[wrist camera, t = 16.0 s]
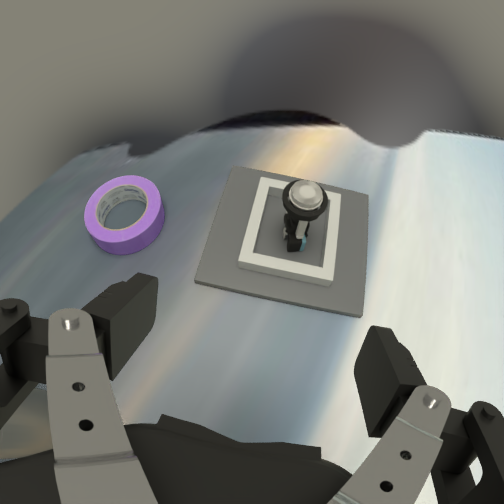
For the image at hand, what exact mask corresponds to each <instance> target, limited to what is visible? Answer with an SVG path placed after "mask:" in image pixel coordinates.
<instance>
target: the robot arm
mask: <svg viewBox="0 0 504 504" xmlns="http://www.w3.org/2000/svg"><path fill="white" fill-rule="evenodd" d="M157 293H158V278H157V277H154V276H150V275H146V274H142V273H137V274H135V275H134V276H133V277H132V278H130V279H129V280H128V281H127V282H124V281H122V282H119V283H116V284H113V285H111V286H109V287H108V288H107V289H106V290H104V292H102V293H101V294H99V295H98V297H96V298H94V299H93V300H92V301H91V302H89V303H88V304H87V305H86V306H84V307H83V308H82V309H81V310H80V309H74V308H67V309H61V310H58V311H56V312H54V313H53V314H52V315H51V316H50V318H49V320H48V319H42V318H36V317H31V316H30V312H29V306H28V304H27V303H26V302H25V301H23V300H20V299H14V298H9V299H3V300H0V354H1V357H2V361H3V363H2V364H1V365H0V459H13V458H18V459H14V460H10V461H6V462H2V463H0V504H414V503H415V501H416V499H417V497H418V495H419V494H420V492H421V490H422V488H423V486H424V484H425V482H426V479H427V477H428V475H429V473H430V472H431V476H432V480H433V484H434V488H435V492H436V496H437V500H438V504H504V417H503V416H502V414H501V412H500V411H499V410H498V409H497V408H496V407H495V406H493V405H492V404H490V403H487V402H484V401H477V402H475V403H473V405H472V406H471V408H470V409H469V411H468V412H465V411H461V410H457V409H454V408H451V401H450V399H449V398H448V396H447V395H446V394H445V393H444V392H442V391H441V390H439V389H437V388H435V387H432V386H428V385H427V384H426V382H425V380H424V378H423V376H422V374H421V372H420V370H419V368H417V365H416V363H415V361H413V360H414V359H413V357H412V355H411V353H410V352H409V350H408V349H407V348H406V347H404V346H403V345H402V344H401V343H399V342H398V340H397V338H396V337H395V335H394V333H393V331H392V329H391V328H385V327H379V326H374V325H373V326H371V327H370V328H369V330H368V332H367V335H366V337H365V340H364V342H363V345H362V347H361V350H360V352H359V354H358V357H357V359H356V362H355V366H354V377H355V381H356V385H357V389H358V393H359V397H360V401H361V405H362V409H363V414H364V418H365V422H366V427H367V431H368V436H369V437H375V438H381V440H380V441H379V442H378V444H377V445H376V446H375V448H374V449H373V450H372V452H371V453H370V454H369V456H368V457H367V458H366V459H365V461H364V462H363V463H362V464H361V466H360V467H359V468H358V469H357V471H356V472H355V473H354V474H353V475H352V474H351V473H349V472H348V471H347V470H345V469H343V468H342V467H340V466H338V465H336V464H334V463H332V462H329V461H327V460H324V459H321V447H315V446H306V445H299V444H291V443H285V442H272V443H242V442H237V441H235V440H232V439H230V438H228V437H225V436H223V435H221V434H219V433H216V432H214V431H212V430H210V429H208V428H206V427H203V426H201V425H198V424H195V423H191V422H187V421H184V420H180V419H177V418H173V417H170V416H167V415H164V414H162V415H161V417H160V419H159V421H158V423H157V424H144V423H141V424H129V425H123V422H122V419H121V416H120V413H119V410H118V407H117V404H116V401H115V397H114V394H113V391H112V387H111V384H110V380H111V381H113V380H114V379H115V377H116V376H117V375H118V373H119V372H120V371H121V369H122V368H123V367H124V365H125V364H126V363H127V361H128V360H129V359H130V357H131V356H132V355H133V353H134V352H135V351H136V349H137V348H138V347H139V345H140V344H141V343H142V341H143V340H144V339H145V337H146V336H147V335H148V333H149V332H150V331H151V329H152V327H153V325H154V321H155V317H156V305H157ZM38 383H42V384H47V391H46V390H42V389H38V388H35V387H36V386H37V385H38ZM477 456H478V459H479V461H480V464H481V466H482V470H483V474H482V478H481V480H480V482H479V483H478V484H477V485H475V482H474V479H473V476H472V473H471V470H470V468H469V466H470V465H471V463H472V462H473V461H474V460H475V459H476V458H477Z"/></svg>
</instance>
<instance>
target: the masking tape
mask: <svg viewBox="0 0 504 504" xmlns="http://www.w3.org/2000/svg"><path fill="white" fill-rule="evenodd" d="M126 200H139V201H142V202H144V203H145V204H146V205H147V206H146V210H145V212H144V214H143V215H142V217H141V218H140V219H139V220H138V221H137V222H135V223H134V224H133V225H131V226H129V227H126V228H123V229H118V230H114V229H109V228H106V227H104V222H105V218H106V216H107V214H108V213H109V211H110V210H111V209H112V208H113V207H114V206H116V205H117V204H119V203H121V202H123V201H126ZM164 217H165V216H164V208H163V204H162V200H161V197H160V193H159V191H158V189H157V187H156V186H155V185H154V184H153V183H152V182H151V181H149V180H148V179H146V178H143V177H140V176H133V175H129V176H121V177H118V178H115V179H112V180H110V181H108V182H106V183H105V184H103V185H102V186H101V187H99V188H98V189H97V190H96V191H95V192H94V193H93V195H92V196H91V197H90V199H89V201H88V203H87V205H86V208H85V214H84V219H85V225H86V227H87V229H88V231H89V233H90V234H91V236H92V237H93V239H94V240H95V242H96V243H97V244H98V246H99V247H100V248H102V249H103V250H104V251H106V252H108V253H111V254H115V255H127V254H132V253H135V252H138V251H140V250H142V249H144V248H145V247H147V246H148V245H149V244H150V243H152V242H153V241H154V240H155V238H156V237H157V236H158V234H159V233H160V231H161V229H162V227H163V224H164Z"/></svg>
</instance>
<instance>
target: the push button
mask: <svg viewBox="0 0 504 504" xmlns="http://www.w3.org/2000/svg"><path fill="white" fill-rule="evenodd" d="M288 196H289V197H290V199H289V200H288ZM282 201H283V206H284V208H285V209H286V212H287V213H286V214H285V215H284V224H285V228H284V230H283V239H284V240H285V235H287V236H288V242H287V251H288V252H295V251H303V250H304V247H305V244H306V237H307V236H308V233H307V232H308V229H309V227H310V221H313V220H316V219H317V218H318V217H319V216H320V215H321V214H322V213H323V212H324V211H325V210H326V208H327V205H328V196H327V194H326V192H325V190H324V189H323V188H322V187H321V186H320V185H318V184H317V183H315V182H313V181H309V180H295V181H292V182H290V183H289V184H287V185H286V187H285V188H284V190H283V193H282ZM319 206H320V208H319V209H318V207H319Z"/></svg>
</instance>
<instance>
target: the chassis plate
mask: <svg viewBox="0 0 504 504" xmlns="http://www.w3.org/2000/svg"><path fill="white" fill-rule="evenodd" d="M295 180H304V179H299V178H295V177H290V176H285V175H280V174H276V173H271V172H266V171H260V170H255V169H250V168H245V167H239V166H234V165H233V167H232V169H231V172H230V175H229V178H228V181H227V183H226V186H225V189H224V192H223V195H222V198H221V200H220V203H219V206H218V209H217V212H216V215H215V218H214V221H213V224H212V227H211V230H210V233H209V236H208V239H207V242H206V245H205V248H204V251H203V254H202V257H201V260H200V263H199V266H198V269H197V273H196V276H195V279H194V281H195V283H198V284H202V285H207V286H211V287H215V288H220V289H224V290H228V291H233V292H237V293H241V294H246V295H250V296H255V297H259V298H264V299H269V300H273V301H278V302H283V303H288V304H292V305H297V306H302V307H307V308H312V309H317V310H322V311H327V312H332V313H337V314H342V315H348V316H353V317H358V318H360V317H362V316H363V306H364V294H365V281H366V264H367V243H368V195H366V194H363V193H359V192H355V191H351V190H347V189H343V188H339V187H334V186H330V185H326V184H322V183H317V182H315V183H317V184H318V185H320V186H321V187H322V188H323V189H324V190H325V192H326V194H327V196H328V205H327V208H326V210H325V211H324V212H323V213H322V214H321V215H320V216H319V217H318V218H317V219H316V220H313V221H310V227H309V229H308V232H307V233H308V236H307V237H306V244H305V247H304V250H303V251H295V252H288V251H287V242H288V236H287V235H285V240H284V239H283V230H284V228H285V224H284V215H285V214H286V213H287V212H286V209H285V208H284V206H283V201H282V193H283V190H284V188H285V187H286V185H287V184H289V183H290V182H292V181H295ZM289 199H290V197H289V196H288V200H289ZM319 208H320V206H319V207H318V209H319Z"/></svg>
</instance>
